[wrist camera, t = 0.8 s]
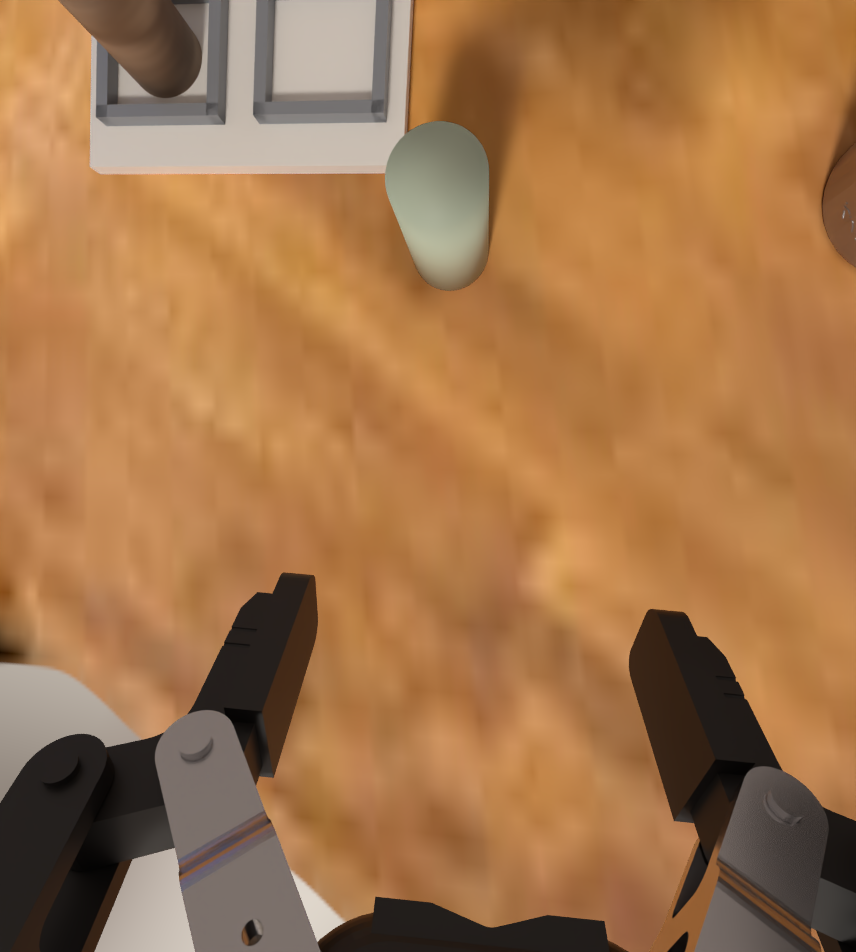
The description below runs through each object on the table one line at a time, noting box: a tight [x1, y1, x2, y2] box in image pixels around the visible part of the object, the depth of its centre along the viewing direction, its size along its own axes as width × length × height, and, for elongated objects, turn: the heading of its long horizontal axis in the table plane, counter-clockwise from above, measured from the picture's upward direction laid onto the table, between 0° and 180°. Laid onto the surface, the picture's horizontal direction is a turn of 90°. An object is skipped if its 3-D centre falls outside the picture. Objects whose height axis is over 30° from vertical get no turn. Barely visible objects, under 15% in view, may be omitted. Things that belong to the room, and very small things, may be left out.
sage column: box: [385, 121, 489, 291], centre depth 30 cm, size 5×5×10 cm
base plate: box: [90, 0, 414, 174], centre depth 35 cm, size 22×14×2 cm, turn 87°
